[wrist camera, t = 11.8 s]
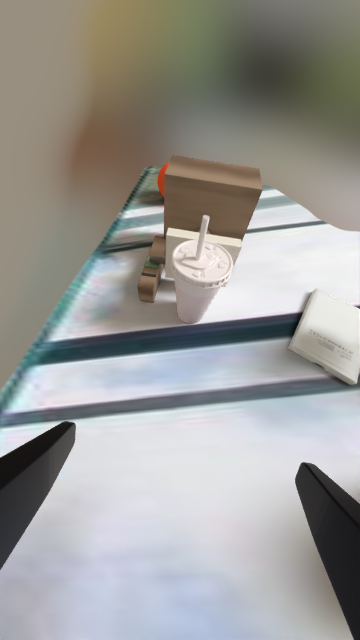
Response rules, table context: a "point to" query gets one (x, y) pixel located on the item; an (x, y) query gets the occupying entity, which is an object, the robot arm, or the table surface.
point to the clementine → (162, 178)
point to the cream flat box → (180, 236)
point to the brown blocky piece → (202, 206)
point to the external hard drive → (330, 336)
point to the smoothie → (198, 274)
